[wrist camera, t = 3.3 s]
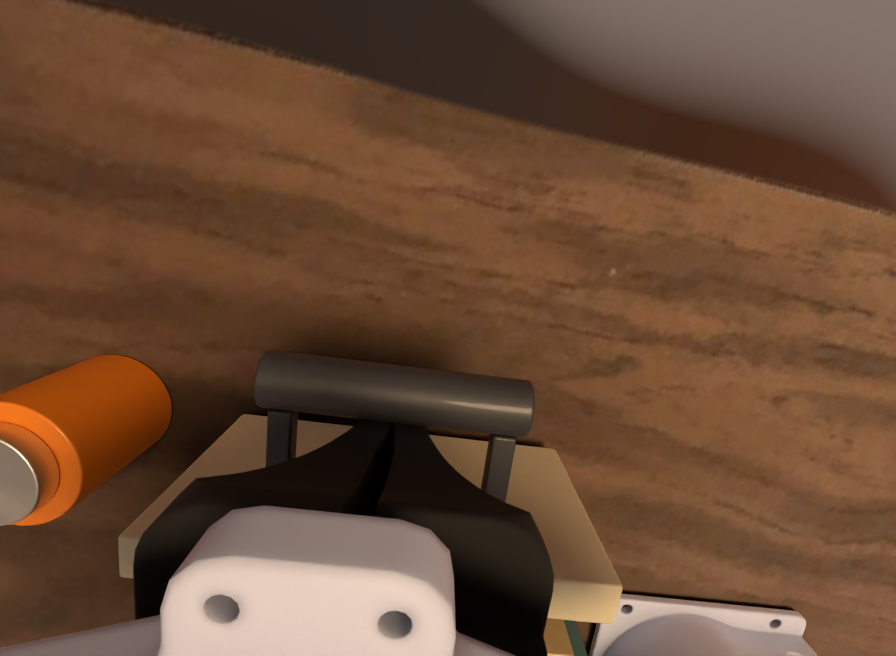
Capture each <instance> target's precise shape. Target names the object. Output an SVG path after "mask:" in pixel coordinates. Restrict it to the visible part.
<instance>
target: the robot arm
mask: <svg viewBox="0 0 896 656" xmlns="http://www.w3.org/2000/svg"><path fill="white" fill-rule="evenodd" d="M133 579H134V602H135V620H133V621H128V622H123V623H118V624H113V625H108V626H103V627H98V628H93V629H88V630H83V631H79V632H74V633H69V634H64V635H59V636H54V637H49V638H44V639H39V640H34V641H30V642H25V643H20V644H15V645H10V646H5V647H0V656H548V653H547V649H546V644H545V640H544V636H543V635H544V630H545V626H546V621H547V617H548V612H549V608H550V603H551V599H552V594H553V585H554V572H553V568H552V564H551V560H550V556H549V553H548V550H547V548H546V545H545V542H544V540H543V538H542V536H541V534H540V531H539V529H538V527H537V525H536V524H535V522H534V520H533V518H532V515H531V514H530V512H528V511H525V510H523V509H520V508H518V507H515V506H513V505H510V504H508V503H505V502H503V501H501V500H499V499H497V498H495V497H494V496H492V495H490V494H488V493H486V492H485V491H483V490H481V489H480V488H478V487H477V486H475V485H474V484H473V483H471V482H470V481H469V480H467V479H466V478H465V477H463V476H462V475H461V474H460V473H459V472H457V471H456V470H455V469H454V468H453V467H452V466H451V465H450V464H449V463H448V462H447V461H446V459H445V458H444V457H443V456H442V454H441V453H440V452H439V450H438V449H437V447H436V446H435V444H434V443H433V441H432V439H431V438H430V436H429V434H428V433H427V431H426V429H425V426H418V425H410V424H401V423H392V422H383V421H374V420H366V419H363V420H361V421H360V422H359V423H357V424H356V425H355V426H353V427H352V428H351V429H349V430H348V431H347V432H345V433H343V434H342V435H340V436H339V437H337V438H336V439H334V440H332V441H331V442H329V443H327V444H325V445H324V446H322V447H320V448H318V449H315V450H313V451H311V452H309V453H307V454H304V455H302V456H299V457H296V458H293V459H290V460H288V461H285V462H282V463H279V464H276V465H272V466H268V467H264V468H260V469H256V470H251V471H246V472H241V473H235V474H228V475H219V476H211V477H202V478H196V479H195V480H194V481H192V482H191V483H190V484H189V485H188V486H187V487H186V488H185V489H184V490H183V491H182V492H181V493H180V494H179V495H178V496H177V497H176V498H175V499H174V500H173V501H172V502H171V503H170V505H169V506H168V507H167V508H166V509H165V510H164V511H163V512H162V513H161V514H160V515H159V516H158V517H157V518H156V520H155V521H154V522H153V523H152V524H151V525H150V526H149V527H148V528H147V529H146V530H145V531H144V532H143V534H142V536H141V538H140V540H139V542H138V544H137V546H136V548H135V554H134V563H133ZM624 605H627V606H625V607H622V606H624ZM805 627H806V620H805V619H804V618H803V617H802V615H801V614H800V613H798V612H797V611H793V610H783V609H772V608H762V607H752V606H742V605H732V604H722V603H712V602H702V601H692V600H682V599H672V598H662V597H652V596H642V595H631V594H621V597H620V601H619V605H618V609H617V612H616V616H615V620H614V623H613V624H602V623H597V624H596V628H595V632H594V636H593V640H592V644H591V648H590V652H589V656H818V655H817V654H816V653H815V652H814V651H813V649H812V648H811V647H810V646H809V645H808V644H807V642H806V641H805V640H804V639H803V638H802V635H803V632H804V630H805Z"/></svg>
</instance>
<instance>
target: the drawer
mask: <svg viewBox="0 0 896 656" xmlns="http://www.w3.org/2000/svg"><path fill="white" fill-rule="evenodd" d="M254 399H255V402H256V404H257V405H258V406H259V407H261V408H269V409H270V410H269V411H268V417H267V416H258V415H249V414H243V415H242V416H241V417H240V418H239V419H237V420H236V421H235V422H234V423H233V424H232V425H231V426H230V427H229V428H228V429H227V430H226V431H225V432H224V433H223V434H222V435H221V436H220V437H219V438H218V439H217V440H216V441H215V442H214V443H213V444H212V445H211V446H210V447H209V448H208V449H207V450H206V451H205V452H204V453H203V454H202V455H201V456H200V457H199V458H198V459H197V460H196V461H195V462H194V463H193V464H192V465H191V466H190V467H189V468H188V469H187V470H186V471H185V472H184V473H182V474H181V475H180V476H179V477H178V478H177V479H176V480H175V481H174V482H173V483H172V484H171V485H170V486H169V487H168V488H167V489H166V490H165V491H164V492H163V493H162V494H161V495H160V496H159V497H158V498H157V499H156V500H155V501H154V502H153V503H152V504H151V505H150V506H149V507H148V508H147V509H146V510H145V511H144V512H143V513H142V514H141V515H140V516H139V517H138V518H137V519H136V520H135V521H134V522H133V523H132V524H131V525H130V526H128V527H127V528H126V529H125V530H124V531H123V532H122V533H121V534H120V536H119V538H118V548H119V568H120V576H121V577H123V578H133V563H134V554H135V548H136V546H137V544H138V542H139V540H140V538H141V536H142V534H143V532H144V531H145V530H146V529H147V528H148V527H149V526H150V525H151V524H152V523H153V522H154V521H155V520H156V518H157V517H158V516H159V515H160V514H161V513H162V512H163V511H164V510H165V509H166V508H167V507H168V506H169V505H170V503H171V502H172V501H173V500H174V499H175V498H176V497H177V496H178V495H179V494H180V493H181V492H182V491H183V490H184V489H185V488H186V487H187V486H188V485H189V484H190V483H191V482H192V481H194V480H195V479H196V478H202V477H211V476H219V475H228V474H235V473H241V472H246V471H251V470H256V469H260V468H264V467H268V466H272V465H276V464H279V463H282V462H285V461H288V460H290V459H293V458H296V457H299V456H302V455H304V454H307V453H309V452H311V451H313V450H315V449H318V448H320V447H322V446H324V445H325V444H327V443H329V442H331V441H332V440H334V439H336V438H337V437H339V436H340V435H342V434H343V433H345V432H347V431H348V430H349V429H351V428H352V427H353V426H347V425H338V424H329V423H320V422H311V421H302V420H298V412H304V413H313V414H322V415H330V416H339V417H348V418H357V419H366V420H374V421H383V422H392V423H401V424H410V425H418V426H427V427H436V428H445V429H454V430H462V431H471V432H480V433H489V434H490V436H489V442H488V441H479V440H471V439H462V438H453V437H444V436H435V435H429V436H430V438H431V439H432V441H433V443H434V444H435V446H436V447H437V449H438V450H439V452H440V453H441V454H442V456H443V457H444V458H445V459H446V461H447V462H448V463H449V464H450V465H451V466H452V467H453V468H454V469H455V470H456V471H457V472H459V473H460V474H461V475H462V476H463V477H465V478H466V479H467V480H469V481H470V482H471V483H473V484H474V485H475V486H477V487H478V488H480V489H481V490H483V491H485V492H486V493H488V494H490V495H492V496H494V497H495V498H497V499H499V500H501V501H503V502H505V503H508V504H510V505H513V506H515V507H518V508H520V509H523V510H525V511H528V512H530V514H531V515H532V518H533V520H534V522H535V524H536V525H537V527H538V529H539V531H540V534H541V536H542V538H543V540H544V542H545V545H546V548H547V550H548V553H549V556H550V560H551V564H552V568H553V572H554V585H553V594H552V599H551V603H550V608H549V612H548V617H547V621H546V626H545V630H544V635H543V636H544V640H545V644H546V649H547V653H548V656H574V653H573V650H572V647H571V643H570V640H569V637H568V633H567V630H566V627H565V624H564V620H571V621H581V622H592V623H602V624H613V623H614V620H615V616H616V612H617V609H618V605H619V601H620V597H621V593H622V590H623V587H622V584H621V582H620V580H619V578H618V576H617V574H616V572H615V570H614V568H613V566H612V564H611V562H610V560H609V558H608V556H607V554H606V552H605V549H604V547H603V545H602V543H601V541H600V539H599V537H598V535H597V533H596V531H595V529H594V527H593V525H592V523H591V521H590V519H589V517H588V515H587V513H586V511H585V509H584V507H583V505H582V503H581V501H580V499H579V497H578V495H577V493H576V491H575V489H574V487H573V485H572V483H571V481H570V478H569V476H568V474H567V472H566V470H565V468H564V466H563V464H562V462H561V460H560V458H559V456H558V454H557V452H556V450H555V449H550V448H541V447H533V446H524V445H516V437H526V436H527V435H528V434H529V431H530V429H531V426H532V422H533V417H534V407H535V396H534V389H533V385H532V383H531V382H530V381H528V380H519V379H511V378H503V377H494V376H486V375H477V374H469V373H461V372H452V371H444V370H436V369H427V368H419V367H410V366H402V365H394V364H385V363H377V362H369V361H360V360H352V359H344V358H335V357H327V356H318V355H310V354H302V353H293V352H285V351H277V350H269V351H267V352H265V353H264V354H263V356H262V358H261V359H260V362H259V364H258V367H257V370H256V374H255V379H254Z"/></svg>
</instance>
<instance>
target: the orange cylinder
mask: <svg viewBox="0 0 896 656" xmlns="http://www.w3.org/2000/svg"><path fill="white" fill-rule="evenodd" d="M171 416H172V404H171V399H170V396H169V393H168V391H167V389H166V387H165V385H164V383H163V382H162V380H161V379H160V378H159V377H158V376H157V375H156V373H154V372H153V371H152V370H151V369H150V368H148V367H147V366H146V365H144V364H142V363H141V362H139V361H137V360H134V359H132V358H129V357H125V356H120V355H100V356H96V357H93V358H90V359H87V360H85V361H82V362H80V363H77V364H75V365H72V366H70V367H67V368H65V369H62V370H60V371H57V372H55V373H52V374H50V375H47V376H45V377H42V378H39V379H37V380H34V381H32V382H29V383H27V384H24V385H22V386H19V387H17V388H14V389H12V390H9V391H7V392H4V393H2V394H0V526H3V525H9V524H13V525H23V526H28V525H38V524H43V523H46V522H49V521H52V520H54V519H57V518H59V517H60V516H62V515H63V514H65V513H66V512H68V511H69V510H70V509H71V508H73V507H74V506H75V505H76V504H78V503H79V502H80V501H82V500H83V499H84V498H85V497H87V496H88V495H89V494H91V493H92V492H93V491H94V490H96V489H97V488H98V487H99V486H101V485H102V484H103V483H105V482H106V481H107V480H108V479H110V478H111V477H112V476H114V475H115V474H116V473H117V472H119V471H120V470H121V469H123V468H124V467H125V466H126V465H128V464H129V463H130V462H131V461H133V460H134V459H135V458H137V457H138V456H139V455H140V454H142V453H143V452H144V451H146V450H147V449H148V448H149V447H151V446H152V445H153V444H155V443H156V442H157V441H158V440H159V439H160V438H161V437H162V436H163V435H164V434H165V432H166V430H167V429H168V426H169V424H170V421H171Z"/></svg>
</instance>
